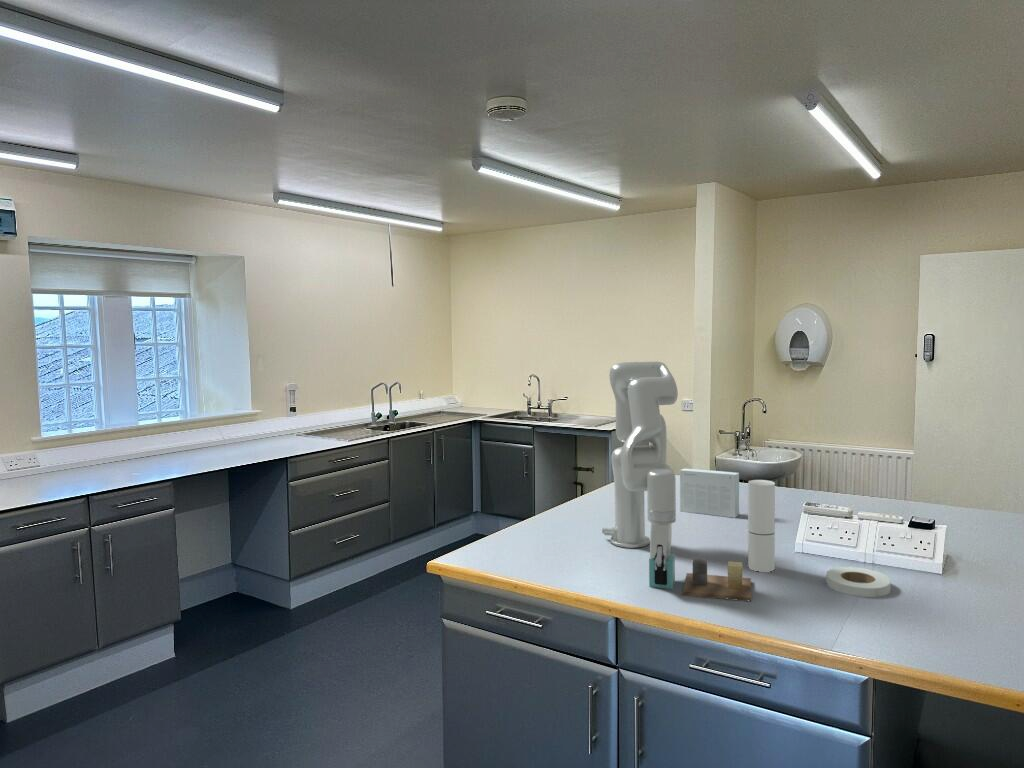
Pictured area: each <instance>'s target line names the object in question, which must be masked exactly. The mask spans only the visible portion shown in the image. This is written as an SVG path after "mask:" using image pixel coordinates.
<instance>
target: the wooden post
mask: <svg viewBox="0 0 1024 768" xmlns="http://www.w3.org/2000/svg"><path fill="white" fill-rule="evenodd" d="M727 576H728V588H732V589H742V578H743V562H742V561H741V562H739V561H727Z"/></svg>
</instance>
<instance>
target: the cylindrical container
mask: <svg viewBox="0 0 1024 768" xmlns="http://www.w3.org/2000/svg"><path fill="white" fill-rule="evenodd" d="M747 484H748V485H747V486H748V487H747V489H748V493H747V494H748V498H747V499H748V502H747V503H748V504H747V506H748V508H747V509H748V510H747V511H748V512H747V514H748V517H747V518H748V520H747V522H748V523H747V524H748V525H747V529H748V531H747V532H748V534H747V537H748V539H747V540H748V541H747V545H748V546H747V547H748V548H747V549H748V550H747V555H748V557H747V558H748V559H747V561H748V562H747V568H748V567H749V568H750V569H751V571H753V570H754V571H753V572H756V571H759V572H758V573H770V572H769V571H772V572H774V571H775V570H774V569H775V564H776V563H775V561H776V559H775V555H776V554H775V550H776V548H775V547H776V543H775V541H776V540H775V539H776V534H775V533H776V530H775V529H776V527H775V526H776V513H775V512H776V483H775V482H774V481H772V480H767V479H753V480H749V481H748V483H747ZM749 568H748V569H749ZM750 569H749V570H750ZM773 570H774V571H773Z"/></svg>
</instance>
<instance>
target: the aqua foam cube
mask: <svg viewBox="0 0 1024 768" xmlns="http://www.w3.org/2000/svg"><path fill="white" fill-rule="evenodd" d="M675 556H676V554H675V553H671V552H670V555H669V558H668V559H667V560H666V570H667V585H659V584H655V557H654V558H653V559H651V558H650V557H649V560H648V570H649V571H648V574H649V575H648V577H649V578H648V582H649V583H648V584H649V585H648V586H649V588H659V589H660V588H661V589H662V588H663V589H672V590H673V589H674V586H675V581H676V565H675V564H676V557H675ZM662 558H663V559H664V557H663V556H662ZM662 563H663V564H664V561H662Z"/></svg>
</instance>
